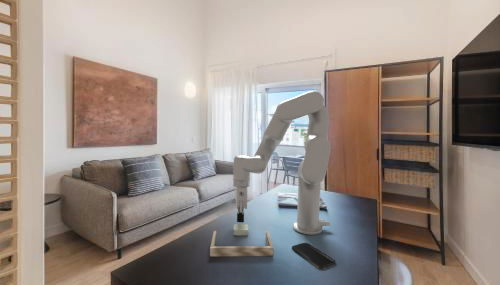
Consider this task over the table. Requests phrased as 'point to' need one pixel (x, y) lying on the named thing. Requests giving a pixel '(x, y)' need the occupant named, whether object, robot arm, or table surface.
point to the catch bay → (241, 249)
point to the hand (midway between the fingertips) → (240, 221)
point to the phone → (313, 255)
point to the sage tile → (240, 229)
